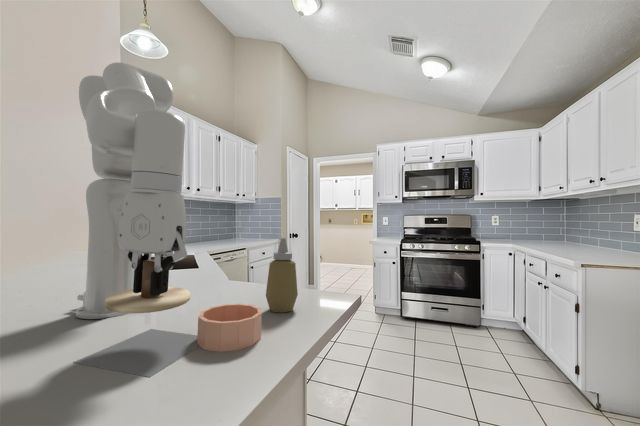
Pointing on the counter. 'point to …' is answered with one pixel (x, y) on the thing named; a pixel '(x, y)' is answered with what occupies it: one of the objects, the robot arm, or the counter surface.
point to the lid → (146, 296)
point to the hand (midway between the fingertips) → (150, 291)
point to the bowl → (229, 327)
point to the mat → (143, 353)
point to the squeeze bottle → (282, 281)
